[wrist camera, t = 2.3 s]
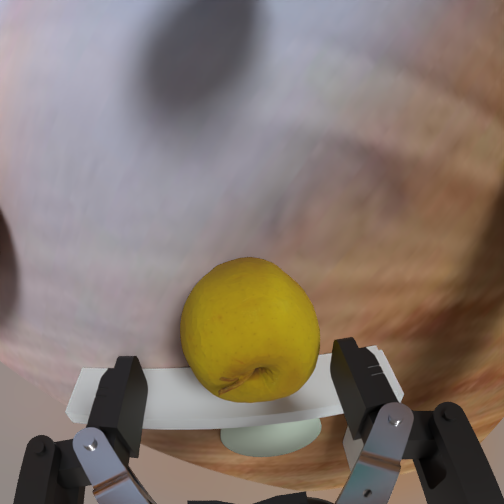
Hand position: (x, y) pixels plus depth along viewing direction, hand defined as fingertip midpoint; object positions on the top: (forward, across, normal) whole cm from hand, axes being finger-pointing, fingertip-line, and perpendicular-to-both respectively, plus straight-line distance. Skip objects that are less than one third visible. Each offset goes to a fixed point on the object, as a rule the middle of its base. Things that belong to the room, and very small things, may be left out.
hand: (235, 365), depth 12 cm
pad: (+6, -2, +16) cm, 18 cm away
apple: (+7, -1, 0) cm, 7 cm away
